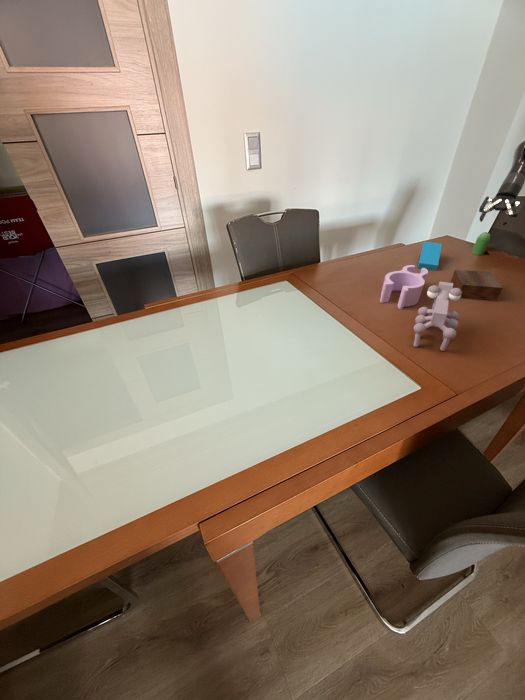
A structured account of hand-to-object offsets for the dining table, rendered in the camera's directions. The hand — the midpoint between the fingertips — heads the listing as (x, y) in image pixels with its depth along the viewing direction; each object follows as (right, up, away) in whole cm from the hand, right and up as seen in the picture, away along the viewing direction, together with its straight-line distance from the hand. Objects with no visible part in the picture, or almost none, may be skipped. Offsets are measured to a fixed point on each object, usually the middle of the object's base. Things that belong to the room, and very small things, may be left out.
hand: (492, 222), depth 129 cm
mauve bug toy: (-48, -49, -39) cm, 79 cm away
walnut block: (-24, -34, -21) cm, 46 cm away
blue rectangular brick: (-28, -17, 0) cm, 33 cm away
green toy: (-4, -12, +4) cm, 13 cm away
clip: (-49, -35, -21) cm, 63 cm away
